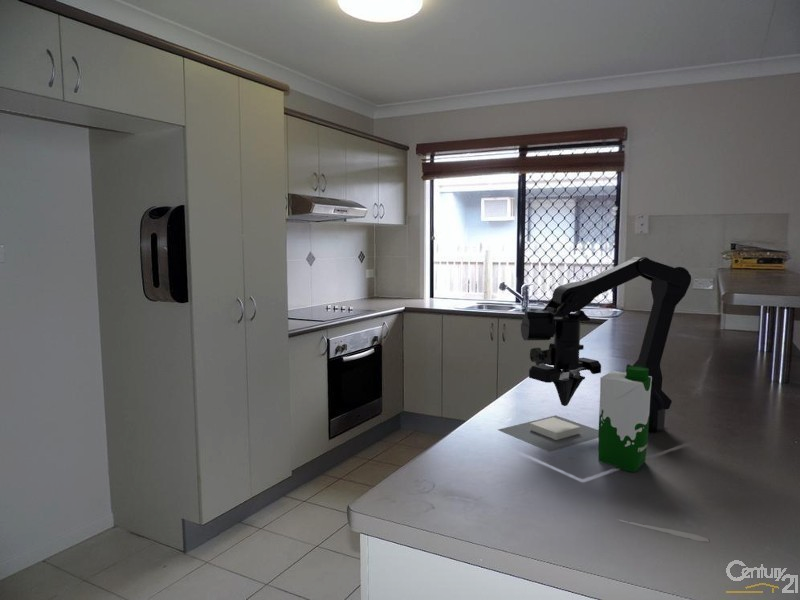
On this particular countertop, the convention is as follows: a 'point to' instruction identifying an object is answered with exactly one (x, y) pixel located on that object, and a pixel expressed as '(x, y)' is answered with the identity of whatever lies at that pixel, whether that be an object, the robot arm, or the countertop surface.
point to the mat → (545, 442)
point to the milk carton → (624, 417)
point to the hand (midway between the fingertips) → (564, 405)
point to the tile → (555, 428)
